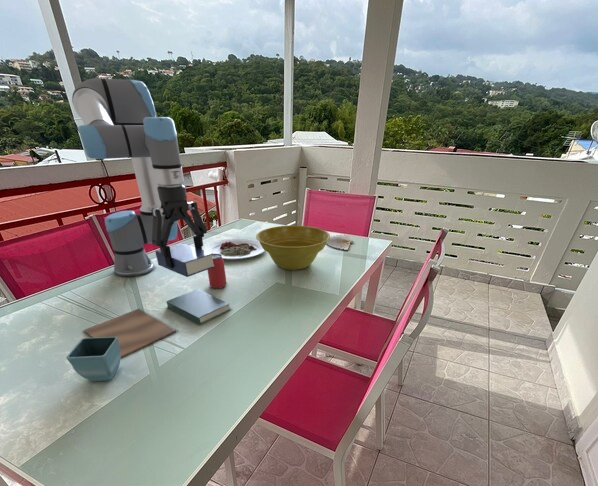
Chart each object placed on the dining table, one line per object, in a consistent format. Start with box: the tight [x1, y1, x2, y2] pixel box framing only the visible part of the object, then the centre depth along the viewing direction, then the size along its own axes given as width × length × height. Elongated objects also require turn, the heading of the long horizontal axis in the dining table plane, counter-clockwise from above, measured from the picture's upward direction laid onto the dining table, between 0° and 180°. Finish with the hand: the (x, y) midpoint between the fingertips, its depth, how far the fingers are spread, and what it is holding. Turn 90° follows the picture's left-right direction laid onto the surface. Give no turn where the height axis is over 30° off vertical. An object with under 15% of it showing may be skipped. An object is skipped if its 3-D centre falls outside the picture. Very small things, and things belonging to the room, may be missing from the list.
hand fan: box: [326, 233, 354, 251], centre depth 178 cm, size 26×1×15 cm
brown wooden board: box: [83, 308, 177, 359], centre depth 102 cm, size 22×18×1 cm
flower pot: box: [65, 337, 122, 382], centre depth 83 cm, size 9×9×9 cm
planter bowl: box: [255, 225, 331, 271], centre depth 147 cm, size 32×32×13 cm
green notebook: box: [165, 288, 231, 325], centre depth 115 cm, size 18×13×2 cm
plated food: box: [204, 238, 266, 261], centre depth 163 cm, size 30×30×3 cm
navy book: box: [154, 242, 215, 278], centre depth 104 cm, size 15×10×4 cm
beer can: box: [207, 254, 228, 289], centre depth 128 cm, size 7×7×12 cm
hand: (185, 261), depth 105 cm, fingers closed on navy book, 10 cm apart
